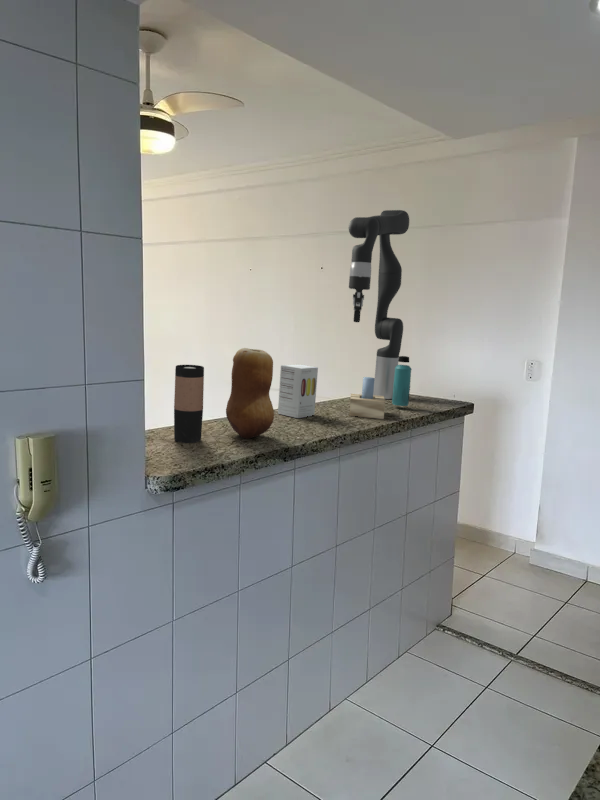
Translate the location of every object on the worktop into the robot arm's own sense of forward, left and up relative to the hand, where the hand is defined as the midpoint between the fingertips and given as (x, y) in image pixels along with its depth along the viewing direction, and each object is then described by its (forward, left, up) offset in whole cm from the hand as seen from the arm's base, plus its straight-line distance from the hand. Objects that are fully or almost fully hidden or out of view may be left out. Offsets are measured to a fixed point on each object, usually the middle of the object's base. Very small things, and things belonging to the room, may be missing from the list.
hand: (356, 321), depth 213 cm
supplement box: (+18, -18, -32) cm, 41 cm away
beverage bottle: (-10, +19, -32) cm, 39 cm away
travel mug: (+63, -43, -32) cm, 83 cm away
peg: (+7, +6, -31) cm, 32 cm away
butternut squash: (+54, -28, -32) cm, 69 cm away
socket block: (+7, +6, -32) cm, 33 cm away
